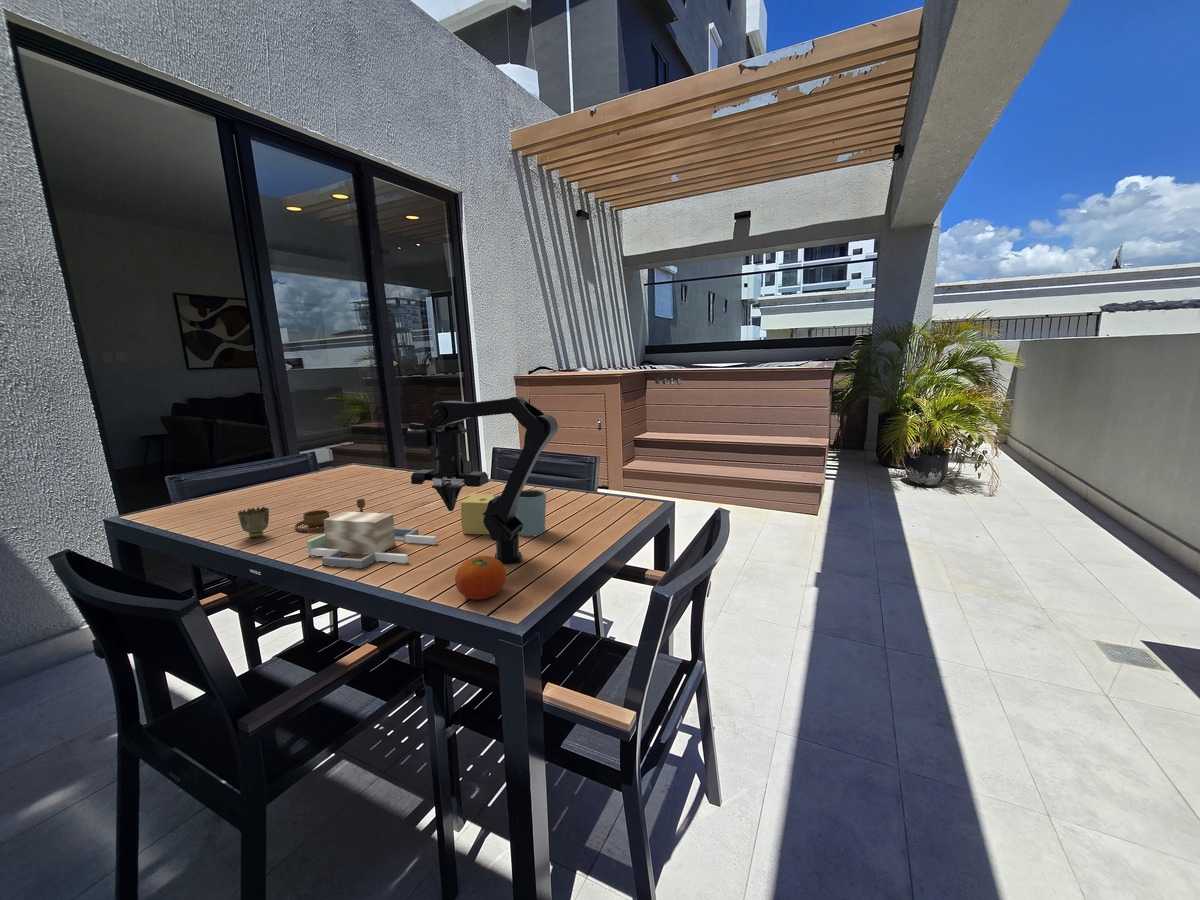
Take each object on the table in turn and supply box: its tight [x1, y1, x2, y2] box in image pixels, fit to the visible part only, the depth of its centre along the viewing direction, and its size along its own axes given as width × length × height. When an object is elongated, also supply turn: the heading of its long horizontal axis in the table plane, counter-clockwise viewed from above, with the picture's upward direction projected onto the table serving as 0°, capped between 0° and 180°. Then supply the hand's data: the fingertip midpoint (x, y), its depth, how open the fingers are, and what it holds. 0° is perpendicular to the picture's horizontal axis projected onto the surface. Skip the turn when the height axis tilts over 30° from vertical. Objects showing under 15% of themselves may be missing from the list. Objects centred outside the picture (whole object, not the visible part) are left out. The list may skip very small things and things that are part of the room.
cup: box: [237, 506, 270, 539], centre depth 142 cm, size 8×7×8 cm
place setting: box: [294, 498, 366, 534], centre depth 154 cm, size 18×20×6 cm
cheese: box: [460, 493, 496, 535], centre depth 148 cm, size 10×11×10 cm
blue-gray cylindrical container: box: [515, 489, 547, 537], centre depth 145 cm, size 10×10×12 cm
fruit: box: [454, 555, 507, 600], centre depth 104 cm, size 11×10×8 cm
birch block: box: [323, 511, 396, 555], centre depth 132 cm, size 15×8×9 cm, turn 80°
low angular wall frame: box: [306, 527, 437, 569], centre depth 131 cm, size 28×25×4 cm
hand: (451, 510), depth 126 cm, fingers closed
